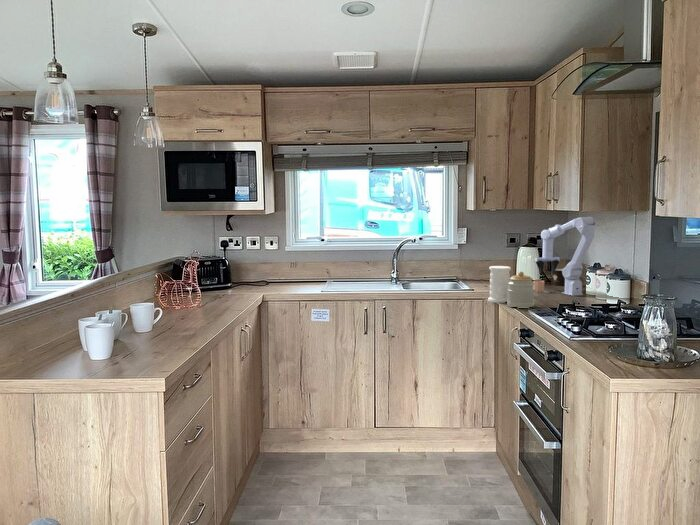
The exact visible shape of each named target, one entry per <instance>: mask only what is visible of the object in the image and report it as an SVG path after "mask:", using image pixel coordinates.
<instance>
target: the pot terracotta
mask: <svg viewBox="0 0 700 525" xmlns="http://www.w3.org/2000/svg"><path fill="white" fill-rule="evenodd" d="M533 283H534V286H533V289H534V292H544V291H545V280H539V279H538V280H533Z"/></svg>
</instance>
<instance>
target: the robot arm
mask: <svg viewBox="0 0 700 525" xmlns="http://www.w3.org/2000/svg"><path fill="white" fill-rule="evenodd" d="M596 226H597V222H596V220H595V219H594V218H593V217H592V216H587V217H586V216H584V217H581V216H580V217H577V218H573V219H571V220H570V221H568V222H566V223H564V224H555V225H554V226H552V227H549V228H548V229H543V230H542V231H541V233H540V238H541V239H542V257H535V258H534V261H535V264H536V265H537V267H538V273H539V274H540V275H542V274H543V272H544V270H543V269H544V264H545V262H550V265H551V268H550V269H551V270H550V271H551V274H553V273H555V270H556V269H557V267H558V265H559V264H560V261H561V260H560V259H561V258H560V257H558V256H555V257H554V242H555V238H557V237H559V236H561V235H563V234H565V232H566V231H567V230H570V229H572V228H576V229H577V231H579V233H580V235H581V238H580V240H579V243H578V246H577V248H576V250H575V251H574V254H573V256H572V258H571V261H569V262H568V263H567V264H566V265H565V267H564V268H562V269H563V271H562V274H563V276H564V278H565V286H564V291H561V293H562V294H565V295H568V296H570V295H571V296H572V297H573V296H584V294H583V282H582V280H580V277H581V276H582V274H583V269H584V266H583V265H582V263H583V261H584V258H585V257H586V254H587V253H588V250H589V248H590V246H591V244H592V242H593V240H594V237H595V228H596Z"/></svg>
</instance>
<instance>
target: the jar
mask: <svg viewBox="0 0 700 525" xmlns="http://www.w3.org/2000/svg"><path fill="white" fill-rule="evenodd" d="M509 280H510V281H509V282H508V283H507V284H508V289H507V291H508V292H507V303H506V304H507V307H509V308H511V307H532V306H533V307H534V305H535V293H534V289H533V286H534V278H533V277H531V276H530V275H525V273H524V272H523V271H519V272H518V274H517V275H516V274H515V275H512V276H511V277H510V276H509Z"/></svg>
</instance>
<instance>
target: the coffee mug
mask: <svg viewBox="0 0 700 525" xmlns="http://www.w3.org/2000/svg"><path fill="white" fill-rule="evenodd" d="M563 269H564V268H556V270H555V273H552V272H551V270H550V272H549V275H550V276H549V277H550V278H552V281H553V286H555V287H556V286H558V287H565V278H564V276H563V274H562V271H563Z"/></svg>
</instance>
